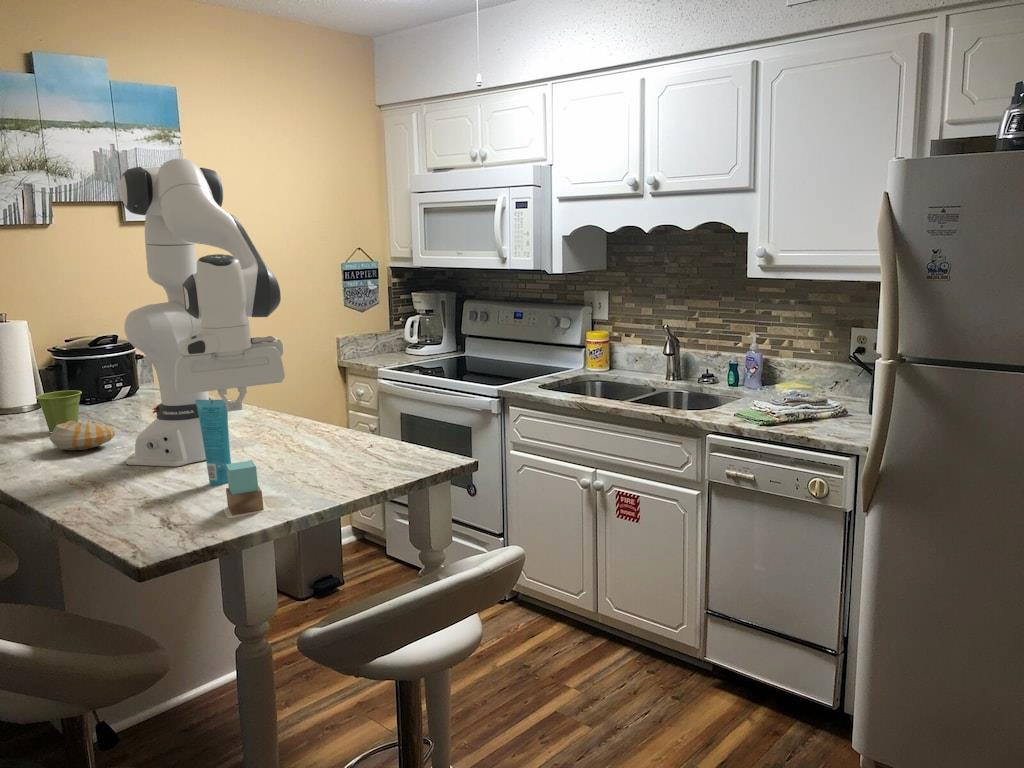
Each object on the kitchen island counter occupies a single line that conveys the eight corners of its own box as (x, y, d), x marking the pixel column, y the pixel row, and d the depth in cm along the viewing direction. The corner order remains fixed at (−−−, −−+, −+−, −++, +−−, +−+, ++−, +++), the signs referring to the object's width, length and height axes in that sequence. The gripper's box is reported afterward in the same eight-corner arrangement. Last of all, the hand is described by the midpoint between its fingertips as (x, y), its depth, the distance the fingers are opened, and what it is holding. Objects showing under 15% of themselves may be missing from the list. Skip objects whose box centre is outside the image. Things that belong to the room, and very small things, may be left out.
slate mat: (199, 522, 162) (198, 519, 162) (224, 502, 174) (223, 499, 173) (269, 521, 161) (269, 518, 161) (289, 500, 173) (289, 497, 172)
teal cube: (232, 495, 163) (229, 470, 162) (228, 488, 167) (225, 464, 166) (258, 490, 165) (255, 466, 164) (254, 483, 170) (251, 460, 169)
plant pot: (81, 434, 239) (76, 396, 237) (36, 438, 236) (30, 399, 234) (91, 425, 250) (86, 388, 248) (48, 429, 248) (42, 392, 246)
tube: (241, 479, 189) (231, 396, 185) (233, 486, 184) (223, 401, 180) (208, 480, 189) (199, 397, 185) (200, 487, 184) (189, 402, 181)
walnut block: (232, 515, 163) (230, 496, 162) (227, 507, 168) (225, 488, 168) (263, 510, 166) (261, 490, 165) (258, 501, 171) (256, 482, 170)
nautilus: (40, 448, 228) (99, 440, 237) (58, 458, 211) (121, 448, 221) (37, 419, 227) (96, 412, 236) (55, 427, 210) (118, 419, 220)
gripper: (278, 333, 168) (284, 400, 170) (169, 343, 159) (177, 414, 162) (284, 336, 162) (291, 406, 165) (172, 347, 153) (180, 420, 156)
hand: (234, 410), depth 163 cm, fingers closed
